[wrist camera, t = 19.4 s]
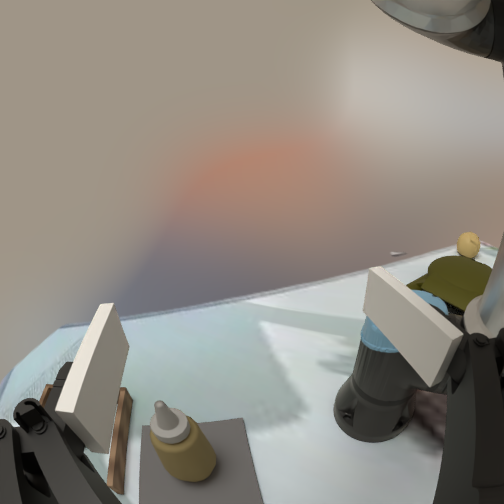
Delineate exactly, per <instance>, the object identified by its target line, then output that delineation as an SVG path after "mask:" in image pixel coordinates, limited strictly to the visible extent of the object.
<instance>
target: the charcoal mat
mask: <svg viewBox="0 0 504 504" xmlns="http://www.w3.org/2000/svg"><path fill="white" fill-rule="evenodd" d="M197 424H198V426H199V427H200V429H201V430H202V432H203V434H204V435H205V437H206V438H207V440H208V441H209V443H210V444H211V446H212V447H213V449H214V451H215V454H216V465H215V467H214V468H213V470H212V472H211V474H210V476H209V477H207V478H206V479H204V480H202V481H198V482H189V481H183V480H180V479H177V478H175V477H173V476H171V475H170V474H169V473H168V472H167V470H166V469H165V468H164V466H163V464H162V462H161V461H160V459H159V457H158V455H157V453H156V451H155V449H154V447H153V445H152V443H151V439H150V435H149V434H150V430H151V427H150V426H142V438H141V454H140V477H139V504H263V502H262V498H261V494H260V490H259V486H258V482H257V478H256V474H255V470H254V466H253V462H252V458H251V454H250V449H249V445H248V441H247V436H246V432H245V427H244V422H243V418H237V419H230V420H223V421H214V422H205V423H197Z"/></svg>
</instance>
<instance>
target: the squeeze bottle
mask: <svg viewBox="0 0 504 504" xmlns="http://www.w3.org/2000/svg"><path fill="white" fill-rule="evenodd" d="M154 406H155V412H156V413H155V414H154V415H153V417H152V418H151V421H150V427H151V430H150V434H149V435H150V439H151V443H152V445H153V447H154V449H155V451H156V453H157V455H158V457H159V459H160V461H161V462H162V464H163V466H164V468H165V469H166V470H167V472H168V473H169V474H170V475H171V476H173V477H175V478H177V479H180V480H183V481H189V482H198V481H202V480H204V479H206V478H207V477H209V476H210V474H211V472H212V470H213V468H214V467H215V465H216V454H215V451H214V449H213V447H212V446H211V444H210V443H209V441H208V440H207V438H206V437H205V435H204V434H203V432H202V430H201V429H200V427H199V426H198V424H197V423H196V422H195V421H194V420H193V419H192V418H191V417H189V416H186V415H185V414H184V413H183V412H182V411H180V410H178V409H175V408H169V407H168V406H167V405H166V404H165V403H164V402H163V401H157V402H156V403H155V404H154Z"/></svg>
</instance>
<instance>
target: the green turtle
mask: <svg viewBox="0 0 504 504" xmlns="http://www.w3.org/2000/svg"><path fill="white" fill-rule="evenodd" d="M491 272H492V268H490V267H489V266H487V265H486V264H482V263H480V262H477V261H475V260H474V259H472V258H468V257H463V256H445V257H441V258H438V259H436V260H434V261H433V262H432V263H431V264H430V265H429V267H428V273H427V274H425V275H424V276H422V277H420V278H418V279H416V280H415V281H413V282H411V283H409V284H407V285H406V286H407V287H408V288H409V289H411V290H420V291H422V290H424V291H426V292H428V293H431V294H433V295H434V296H436V297H439V298H440V299H441V300H443V301H445V302H447V303H449V304H450V305H452V306H454V307H456V308H458V309H459V310H461V311H463V312H465V310H466V308H467V306H468V304H469V303H470V302H471V301H472V300H473V299H474V298H476V297H478V296H480V295H483V293H484V290H485V288H486V285H487V283H488V280H489V277H490V275H491Z"/></svg>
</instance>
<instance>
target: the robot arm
mask: <svg viewBox="0 0 504 504" xmlns="http://www.w3.org/2000/svg"><path fill="white" fill-rule="evenodd" d="M371 1H372V2H373V3H374V4H375V5H376V6H377V7H378V8H379V9H381V10H382V11H383V12H384V13H385V14H387V15H388V16H389V17H391V18H392V19H393V20H395V21H397V22H399V23H400V24H402V25H403V26H405V27H407V28H409V29H411V30H413V31H414V32H416V33H419V34H421V35H423V36H426V37H427V38H430V39H432V40H434V41H436V42H439V43H441V44H443V45H446V46H449V47H451V48H453V49H457V50H460V51H463V52H466V53H469V54H472V55H476V56H480V57H484V58H488V59H493V60H496V61H499V62H501V63H502V67H503V76H504V0H371ZM363 312H364V313H365V314H366V315H367V316H366V320H365V323H364V326H363V327H362V330H361V341H360V346H359V350H358V354H357V358H356V362H355V366H354V370H353V373H352V375H351V376H350V377H349V378H348V379H347V381H346V382H345V383H344V384H343V385H342V387H341V388H340V389H339V391H338V393H337V396H336V399H335V403H334V416H335V419H336V422H337V424H338V425H339V427H340V428H341V429H342V430H343V431H344V432H345V433H346V434H348V435H349V436H351V437H353V438H355V439H357V440H361V441H365V442H381V441H385V440H389V439H391V438H393V437H395V436H397V435H398V434H399V433H401V432H402V431H403V430H404V428H405V427H406V426H407V424H408V423H409V421H410V419H411V418H412V415H413V413H414V408H415V397H416V390H417V389H419V390H424V391H429V392H434V393H439V394H444V395H447V415H446V429H445V439H444V448H443V455H442V462H441V468H440V474H439V479H438V484H437V488H436V493H435V497H434V501H433V504H504V233H503V236H502V240H501V244H500V247H499V250H498V254H497V257H496V260H495V263H494V266H493V269H492V272H491V275H490V277H489V280H488V283H487V285H486V288H485V290H484V293H483V295H480V296H478V297H476V298H474V299H473V300H472V301H471V302H470V303H469V304H468V306H467V308H466V310H465V312H464V314H463V316H461V315H456V314H450V313H448V309H447V306H446V304H445V303H444V302H443V301H442V300H441V299H440V298H439V297H433V294H431V293H428V292H425V291H420V290H411V289H409V288H408V287H407V286H405V285H404V284H403V283H402V282H400V281H399V280H398V279H396V278H395V277H394V276H393V275H391V274H390V273H389V272H387V271H386V270H385V269H383V268H382V267H381V266H379V267H373V268H369V273H368V281H367V288H366V294H365V300H364V306H363ZM129 347H130V346H129V344H128V341H127V339H126V336H125V333H124V331H123V328H122V325H121V322H120V320H119V317H118V314H117V311H116V308H115V305H114V303H110V304H100V306H99V308H98V310H97V312H96V314H95V316H94V318H93V320H92V322H91V324H90V326H89V328H88V330H87V333H86V335H85V337H84V339H83V341H82V343H81V346H80V348H79V350H78V352H77V355H76V357H75V359H74V362H66V363H65V364H64V365H63V366H62V368H61V369H60V370H59V372H58V374H57V377H56V380H55V382H54V384H53V388H52V389H51V391H50V394H49V396H48V399H47V401H46V404H45V407H44V408H43V407H42V405H41V404H40V403H39V401H38V400H36V399H34V398H27V399H24V400H22V401H21V402H20V403H18V405H17V406H16V407H15V410H14V413H13V417H14V420H15V421H16V422H17V423H18V424H19V425H20V427H13V426H12V425H11V424H10V423H9V421H7V420H5V419H0V504H122V503H121V502H120V501H119V500H118V499H117V497H116V496H115V495H114V494H113V492H112V491H111V490H110V488H109V487H108V486H107V484H106V483H105V482H104V480H103V479H102V478H101V476H100V475H99V473H98V472H97V471H96V469H95V468H94V466H93V465H92V463H91V462H90V460H89V459H88V457H87V456H86V455H85V454H84V446H86V447H87V448H88V449H89V450H90V451H91V452H95V453H104V454H109V448H110V441H111V434H112V428H113V422H114V416H115V411H116V405H117V400H118V395H119V390H120V385H121V381H122V376H123V372H124V367H125V363H126V359H127V355H128V351H129Z"/></svg>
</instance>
